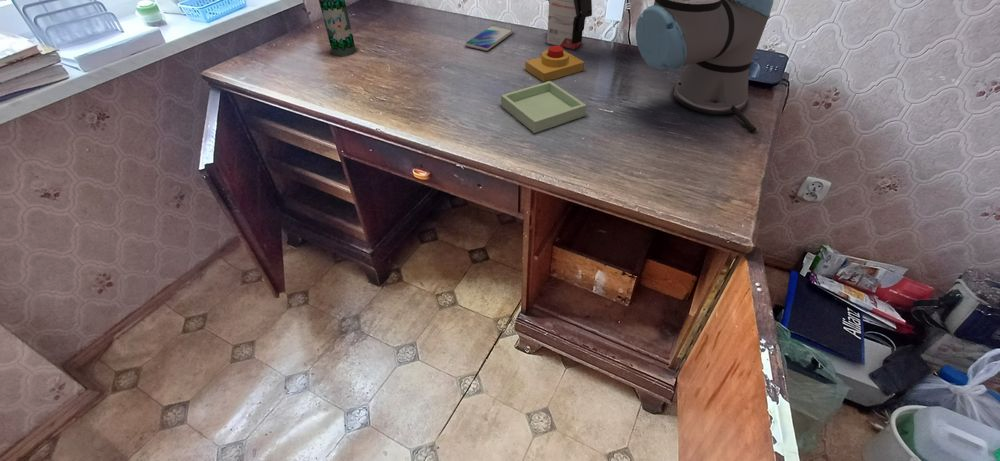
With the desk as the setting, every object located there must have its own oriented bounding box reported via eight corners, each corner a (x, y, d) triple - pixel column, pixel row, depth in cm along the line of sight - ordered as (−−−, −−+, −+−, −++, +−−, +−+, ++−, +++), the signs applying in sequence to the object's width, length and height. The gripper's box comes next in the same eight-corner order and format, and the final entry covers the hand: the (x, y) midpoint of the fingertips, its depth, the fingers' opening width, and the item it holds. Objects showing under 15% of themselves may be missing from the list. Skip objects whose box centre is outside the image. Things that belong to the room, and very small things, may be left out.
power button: (565, 56, 113) (566, 49, 111) (553, 60, 111) (554, 52, 110) (556, 51, 115) (557, 44, 114) (544, 54, 114) (545, 47, 112)
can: (333, 57, 122) (317, -5, 112) (331, 48, 126) (316, -12, 116) (356, 53, 123) (343, -7, 113) (354, 45, 128) (341, -15, 117)
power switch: (583, 70, 115) (585, 54, 113) (543, 82, 111) (544, 66, 108) (563, 59, 120) (565, 43, 118) (525, 69, 116) (525, 53, 113)
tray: (585, 116, 100) (586, 104, 98) (534, 133, 95) (534, 121, 93) (549, 91, 108) (550, 80, 106) (501, 106, 103) (500, 95, 101)
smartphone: (513, 30, 133) (487, 48, 123) (513, 33, 133) (487, 52, 124) (491, 25, 135) (464, 43, 126) (491, 28, 136) (464, 46, 126)
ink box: (582, 43, 127) (587, -3, 119) (574, 50, 124) (579, 3, 116) (554, 37, 131) (557, -8, 123) (545, 43, 128) (548, -3, 120)
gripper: (616, -52, 105) (602, 47, 121) (558, -70, 119) (552, 20, 134) (590, -48, 102) (579, 53, 118) (534, -67, 116) (530, 25, 132)
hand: (564, 36), depth 126 cm, fingers closed on ink box, 9 cm apart
